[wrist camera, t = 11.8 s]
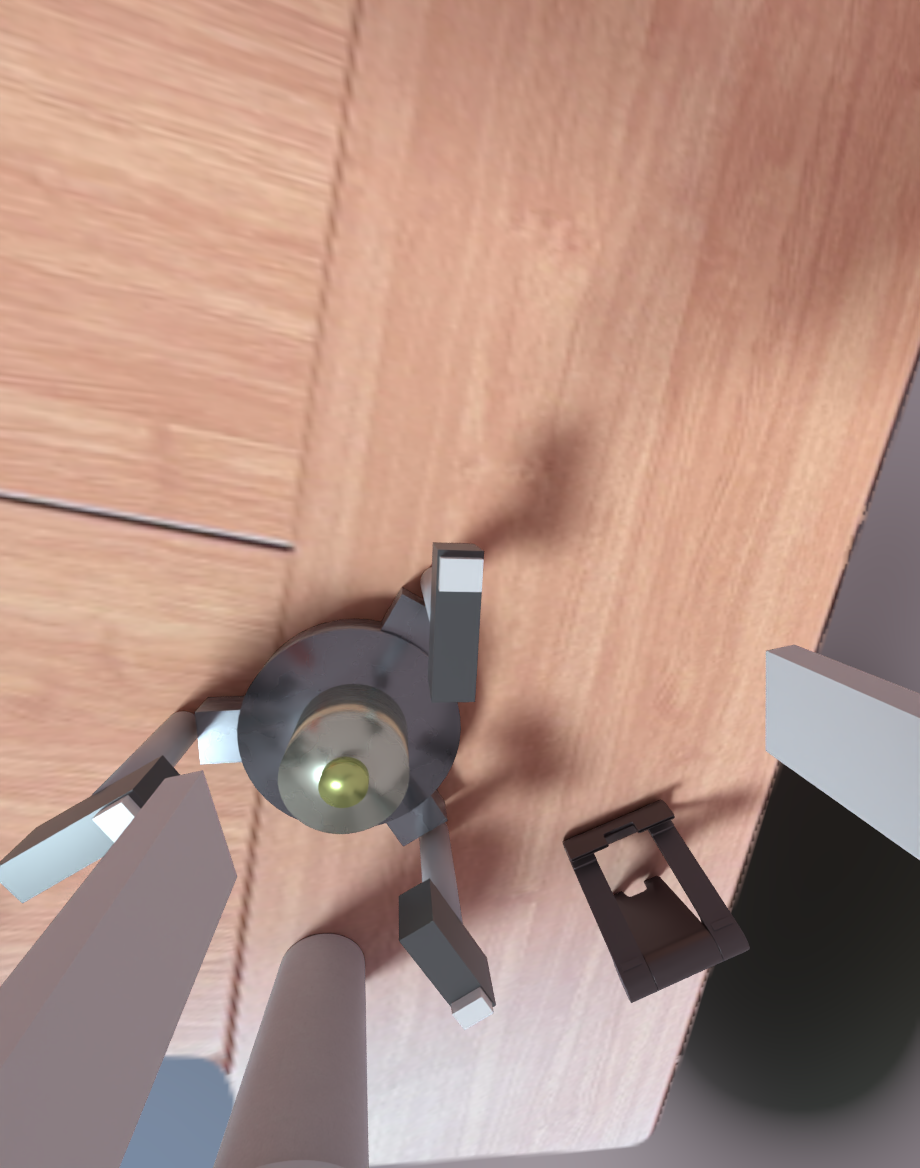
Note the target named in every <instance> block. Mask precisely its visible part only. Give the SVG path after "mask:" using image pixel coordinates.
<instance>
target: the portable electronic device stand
mask: <svg viewBox="0 0 920 1168" xmlns="http://www.w3.org/2000/svg"><path fill="white" fill-rule="evenodd" d="M674 818H675V816H674V814H673V812H672V811H671V810H670V808H669V807H668V806H667V804H666V803H665V802H664V801H663V800H659V801H657V802H654V803H652V804H648V805H646V806H645V807H643V808H640V809H638V810H636V811H633V812H631V813H629V814H627V815H624V816H622V817H619V818H617V819H615V820H612V821H610V822H608V823H605V824H603V825H601V826H598V827H596V828H594V829H591V830H589V831H587V832H584V833H582V834H580V835H576V836H573V837H572V838H570V839H568V840H566V841H563V845H564V848H565V851H566V853H567V855H568V858H569V860H570V862H571V865H572V867H573V869H574V871H575V874H576V876H577V878H578V881H579V883H580V885H581V887H582V890H583V892H584V894H585V897H586V899H587V901H588V903H589V906H590V908H591V910H592V913H593V915H594V917H595V919H596V922H597V924H598V926H599V929H600V931H601V933H602V936H603V938H604V940H605V942H606V945H607V947H608V949H609V952H610V954H611V956H612V959H613V962H614V965H615V968H616V970H617V973H618V975H619V978H620V980H621V983H622V985H623V987H624V989H625V992H626V994H627V996H628V998H629V1000H630V1002H631V1003H633V1002H635V1001H637V1000H639V999H641V998H644V997H646V996H648V995H650V994H652V993H655V992H657V991H659V990H661V989H663V988H666V987H668V986H670V985H672V984H674V983H677V982H679V981H681V980H683V979H685V978H688V977H690V976H692V975H694V974H696V973H699V972H701V971H703V970H705V969H707V968H710V967H712V966H714V965H716V964H718V963H721V962H723V961H725V960H727V959H729V958H732V957H734V956H736V955H738V954H740V953H742V952H745V951H747V950H749V944H748V942H747V939H746V937H745V935H744V933H743V932H742V930H741V929H740V927H739V925H738V924H737V922H736V921H735V919H734V918H733V916H732V914H731V913H730V911H729V910H728V908H727V907H726V905H725V904H724V902H723V901H722V899H721V897H720V896H719V894H718V893H717V891H716V890H715V888H714V887H713V885H712V884H711V882H710V881H709V879H708V877H707V876H706V874H705V873H704V871H703V870H702V868H701V867H700V865H699V864H698V862H697V861H696V859H695V857H694V856H693V854H692V853H691V851H690V850H689V848H688V847H687V845H686V844H685V842H684V841H683V839H682V837H681V836H680V834H679V833H678V831H677V830H676V828H675V827H674V825H673V823H672V821H671V819H674ZM646 830H648V831H649V833H650V834H651V836H652V838H653V839H654V841H655V843H656V844H657V846H658V848H659V849H660V851H661V853H662V854H663V856H664V858H665V859H666V861H667V863H668V864H669V866H670V868H671V869H672V871H673V873H674V874H675V876H676V878H677V879H678V881H679V883H680V884H681V886H682V888H683V889H684V891H685V893H686V894H687V896H688V898H689V899H690V901H691V903H692V904H693V906H694V908H695V909H696V911H697V913H698V915H699V917H700V919H701V922H700V921H699V920H698V918H697V917H696V916H695V915H694V914H693V913H692V912H691V911H690V910H689V909H688V907H687V906H686V905H685V904H684V903H683V902H682V901H681V900H680V899H679V897H678V896H677V895H676V894H675V893H674V892H673V891H672V890H671V889H670V888H669V886H668V885H667V884H666V883H665V882H664V881H663V880H662V879H661V877H659V876H655V877H653V878H651V879H649V880H646V881H644V883H645V885H646V887H647V889H646V890H645V891H644V892H641V893H639V894H637V895H634V896H632V897H628V896H627V895H625V894H624V893H623V892H622V891H621V892H619V893H617V894H614V895H613V893H612V891H611V889H610V887H609V885H608V883H607V881H606V879H605V876H604V874H603V872H602V870H601V868H600V866H599V864H598V862H597V859H596V857H595V855H594V853H595V852H597V851H600V850H602V849H604V848H607V847H608V846H609V845H608V844H611V843H613V842H615V841H617V840H620V839H622V838H624V837H627V836H629V835H631V834H634V833H636V832H638V833H641V832H644V831H646Z"/></svg>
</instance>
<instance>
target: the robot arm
mask: <svg viewBox="0 0 920 1168" xmlns="http://www.w3.org/2000/svg"><path fill="white" fill-rule="evenodd" d="M766 751H767V752H768V753H769V754H771V755H772V756H774V757H775V758H776V759H778V760H779V761H781V762H782V763H784V764H785V765H786V766H788V767H789V768H791V769H792V770H793V771H795V772H796V773H798V774H799V775H801V776H802V777H803V778H805V779H806V780H808V781H809V782H810V783H812V784H814V785H815V786H816V787H817V788H819V789H820V790H822V791H823V792H824V793H826V794H827V795H829V796H830V797H831V798H833V799H834V800H836V801H837V802H839V803H840V804H841V805H843V806H844V807H846V808H847V809H848V810H850V811H851V812H853V813H854V814H855V815H857V816H858V817H860V818H861V819H863V820H864V821H865V822H867V823H868V824H870V825H871V826H872V827H874V828H875V829H877V830H878V831H879V832H881V833H882V834H884V835H885V836H886V837H888V838H889V839H891V840H892V841H894V842H895V843H896V844H898V845H899V846H901V847H902V848H903V849H905V850H906V851H908V852H909V853H910V854H912V855H913V856H915V857H916V858H917V859H919V860H920V694H919V693H916V692H914V691H911V690H909V689H906V688H904V687H901V686H899V685H896V684H894V683H891V682H888V681H886V680H883V679H881V678H878V677H875V676H873V675H870V674H868V673H866V672H863V671H860V670H858V669H855V668H853V667H850V666H848V665H845V664H843V663H840V662H837V661H835V660H832V659H830V658H827V657H825V656H822V655H820V654H817V653H815V652H812V651H809V650H807V649H804V648H802V647H799V646H797V645H790V646H786V647H781V648H776V649H772V650H767V651H766ZM236 878H237V874H236V871H235V868H234V865H233V862H232V859H231V856H230V852H229V849H228V846H227V843H226V840H225V837H224V834H223V831H222V828H221V825H220V821H219V818H218V815H217V812H216V809H215V806H214V803H213V800H212V797H211V794H210V790H209V787H208V784H207V781H206V778H205V775H204V772H203V770H202V771H197V772H193V773H188V774H183V775H179V776H174V777H169V778H165V779H164V780H163V782H162V783H161V784H160V786H159V787H158V788H157V789H156V791H155V792H154V793H153V794H152V796H151V797H150V798H149V799H148V801H147V802H146V803H145V805H144V806H143V807H142V808H141V810H140V811H139V812H138V813H137V815H136V816H135V817H134V818H133V820H132V821H131V822H130V824H129V825H128V826H127V827H126V829H125V830H124V831H123V832H122V834H121V835H120V836H119V837H118V839H117V840H116V841H115V843H114V844H113V845H112V846H111V848H110V849H109V850H108V851H107V853H106V854H105V855H104V856H103V858H102V859H101V860H100V861H99V863H98V864H97V865H96V867H95V868H94V869H93V870H92V872H91V873H90V874H89V875H88V877H87V878H86V879H85V880H84V882H83V883H82V884H81V886H80V887H79V888H78V889H77V891H76V892H75V893H74V894H73V896H72V897H71V898H70V899H69V901H68V902H67V903H66V905H65V906H64V907H63V908H62V910H61V911H60V912H59V913H58V915H57V916H56V917H55V918H54V920H53V921H52V922H51V923H50V925H49V926H48V927H47V929H46V930H45V931H44V932H43V934H42V935H41V936H40V937H39V939H38V940H37V941H36V942H35V944H34V945H33V946H32V948H31V949H30V950H29V951H28V953H27V954H26V955H25V956H24V958H23V959H22V960H21V961H20V963H19V964H18V965H17V967H16V968H15V969H14V970H13V972H12V973H11V974H10V975H9V977H8V978H7V979H6V980H5V982H4V983H3V984H2V985H1V987H0V1168H119V1167H120V1164H121V1162H122V1159H123V1156H124V1154H125V1152H126V1149H127V1147H128V1144H129V1142H130V1140H131V1137H132V1135H133V1132H134V1130H135V1127H136V1125H137V1122H138V1120H139V1117H140V1115H141V1112H142V1110H143V1107H144V1105H145V1102H146V1100H147V1098H148V1095H149V1093H150V1090H151V1088H152V1085H153V1083H154V1080H155V1078H156V1075H157V1073H158V1070H159V1068H160V1065H161V1063H162V1061H163V1058H164V1056H165V1053H166V1051H167V1048H168V1046H169V1043H170V1041H171V1038H172V1036H173V1034H174V1031H175V1029H176V1026H177V1024H178V1021H179V1019H180V1016H181V1014H182V1011H183V1009H184V1006H185V1004H186V1001H187V999H188V997H189V994H190V992H191V989H192V987H193V984H194V982H195V979H196V977H197V974H198V972H199V969H200V967H201V964H202V962H203V960H204V957H205V955H206V952H207V950H208V947H209V945H210V942H211V940H212V937H213V935H214V932H215V930H216V927H217V925H218V923H219V920H220V918H221V915H222V913H223V910H224V908H225V905H226V903H227V900H228V898H229V895H230V893H231V891H232V888H233V886H234V883H235V881H236Z"/></svg>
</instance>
